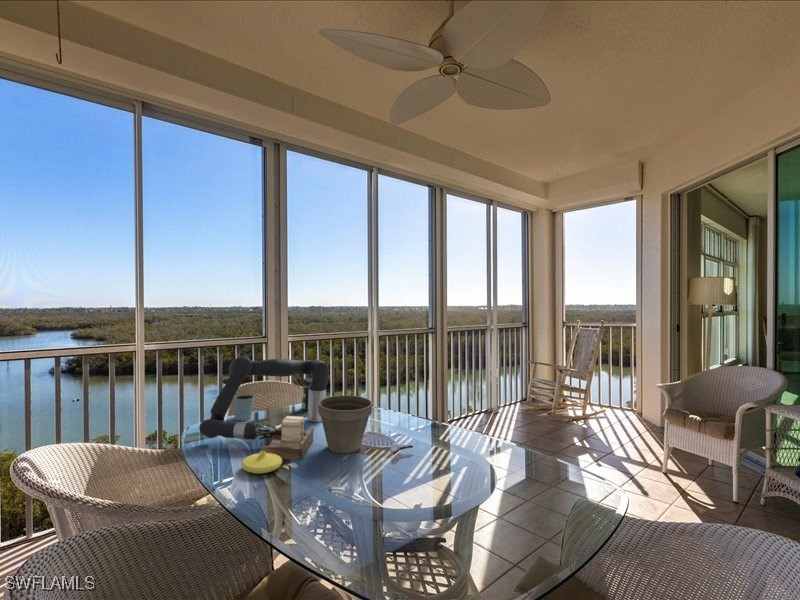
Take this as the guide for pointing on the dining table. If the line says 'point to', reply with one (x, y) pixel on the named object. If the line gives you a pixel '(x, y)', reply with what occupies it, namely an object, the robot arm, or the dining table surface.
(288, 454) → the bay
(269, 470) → the yellow knobbed lid
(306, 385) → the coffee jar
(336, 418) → the plant pot
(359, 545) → the dining table surface
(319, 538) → the dining table surface
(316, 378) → the robot arm
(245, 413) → the light blue cup
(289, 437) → the stacked wooden blocks
